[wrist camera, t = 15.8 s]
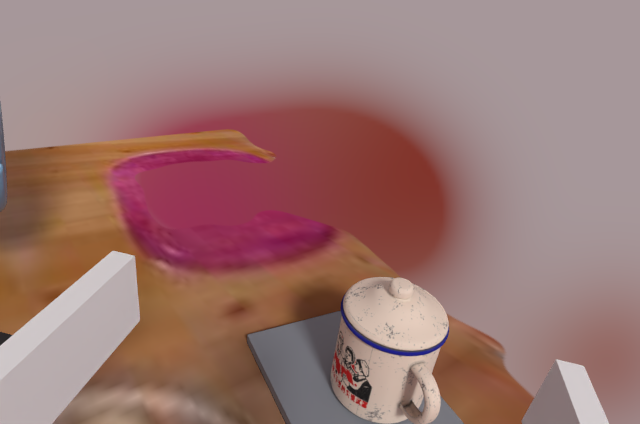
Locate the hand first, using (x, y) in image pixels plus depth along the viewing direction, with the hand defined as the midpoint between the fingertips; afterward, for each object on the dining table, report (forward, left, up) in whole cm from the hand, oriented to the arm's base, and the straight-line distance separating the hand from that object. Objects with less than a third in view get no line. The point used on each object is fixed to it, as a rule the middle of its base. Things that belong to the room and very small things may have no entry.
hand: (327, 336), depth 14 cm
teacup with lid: (-11, +15, -22) cm, 29 cm away
